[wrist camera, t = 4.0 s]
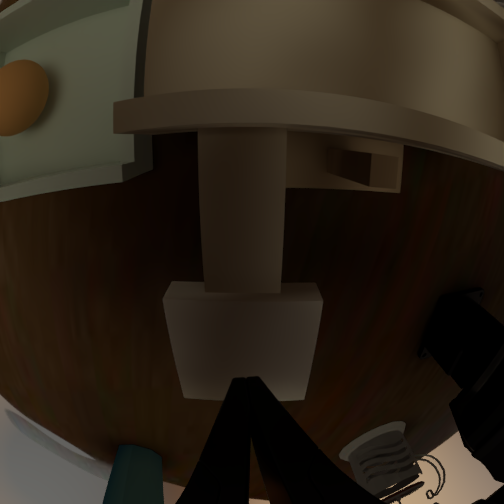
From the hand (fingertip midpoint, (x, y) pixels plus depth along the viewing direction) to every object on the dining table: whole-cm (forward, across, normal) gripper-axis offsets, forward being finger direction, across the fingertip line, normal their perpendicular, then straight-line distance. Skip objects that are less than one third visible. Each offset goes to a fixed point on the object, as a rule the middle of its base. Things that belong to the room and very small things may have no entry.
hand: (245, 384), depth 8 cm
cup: (+8, +11, +22) cm, 26 cm away
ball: (+5, +11, -11) cm, 16 cm away
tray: (+8, +9, -11) cm, 16 cm away
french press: (+8, -18, +26) cm, 33 cm away
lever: (+3, -5, -6) cm, 8 cm away
